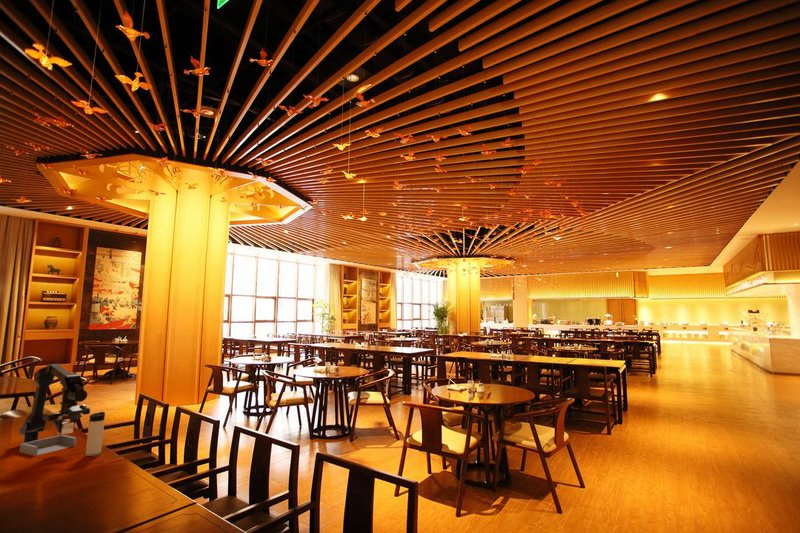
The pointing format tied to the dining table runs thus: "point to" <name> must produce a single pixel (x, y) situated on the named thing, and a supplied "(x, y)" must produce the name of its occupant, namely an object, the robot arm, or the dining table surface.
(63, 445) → the slate box
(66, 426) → the birch block
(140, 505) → the dining table surface
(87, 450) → the travel mug
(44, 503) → the dining table surface
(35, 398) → the robot arm
